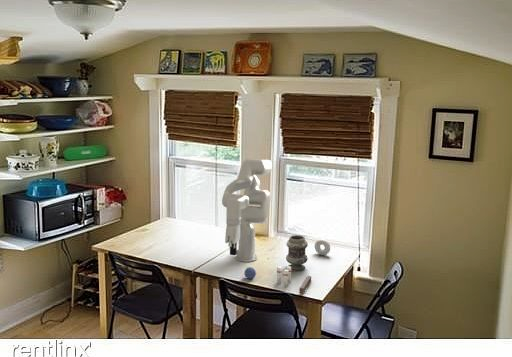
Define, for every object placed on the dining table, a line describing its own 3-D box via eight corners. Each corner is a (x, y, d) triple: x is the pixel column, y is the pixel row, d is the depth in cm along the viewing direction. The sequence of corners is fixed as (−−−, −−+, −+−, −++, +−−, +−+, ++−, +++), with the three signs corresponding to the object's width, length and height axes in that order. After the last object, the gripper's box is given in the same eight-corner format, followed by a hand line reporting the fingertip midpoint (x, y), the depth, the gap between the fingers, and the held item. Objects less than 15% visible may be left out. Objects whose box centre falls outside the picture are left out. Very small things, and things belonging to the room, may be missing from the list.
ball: (242, 279, 258) (242, 268, 257) (246, 275, 264) (246, 264, 263) (253, 281, 256) (253, 270, 255) (257, 277, 262) (257, 266, 261)
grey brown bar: (299, 293, 243) (299, 287, 243) (307, 281, 258) (307, 275, 257) (303, 294, 242) (303, 288, 242) (311, 281, 257) (311, 276, 257)
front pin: (276, 283, 254) (276, 268, 252) (277, 281, 256) (277, 266, 255) (280, 284, 253) (281, 268, 251) (282, 282, 256) (282, 267, 254)
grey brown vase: (293, 262, 283) (294, 232, 279) (311, 267, 276) (312, 236, 272) (281, 268, 274) (282, 237, 270) (299, 274, 267) (300, 242, 263)
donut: (330, 255, 294) (331, 239, 292) (328, 257, 291) (329, 241, 289) (315, 252, 299) (316, 236, 297) (313, 254, 296) (313, 238, 294)
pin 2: (285, 283, 255) (285, 267, 253) (286, 281, 257) (287, 265, 255) (290, 283, 254) (290, 268, 252) (291, 281, 256) (291, 266, 255)
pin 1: (282, 286, 250) (283, 271, 249) (284, 284, 253) (284, 269, 251) (287, 287, 250) (287, 272, 248) (288, 285, 252) (289, 270, 250)
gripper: (232, 216, 265) (232, 249, 268) (221, 223, 251) (220, 258, 254) (245, 218, 262) (244, 251, 266) (234, 225, 248) (234, 260, 252)
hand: (233, 254), depth 260 cm, fingers closed
